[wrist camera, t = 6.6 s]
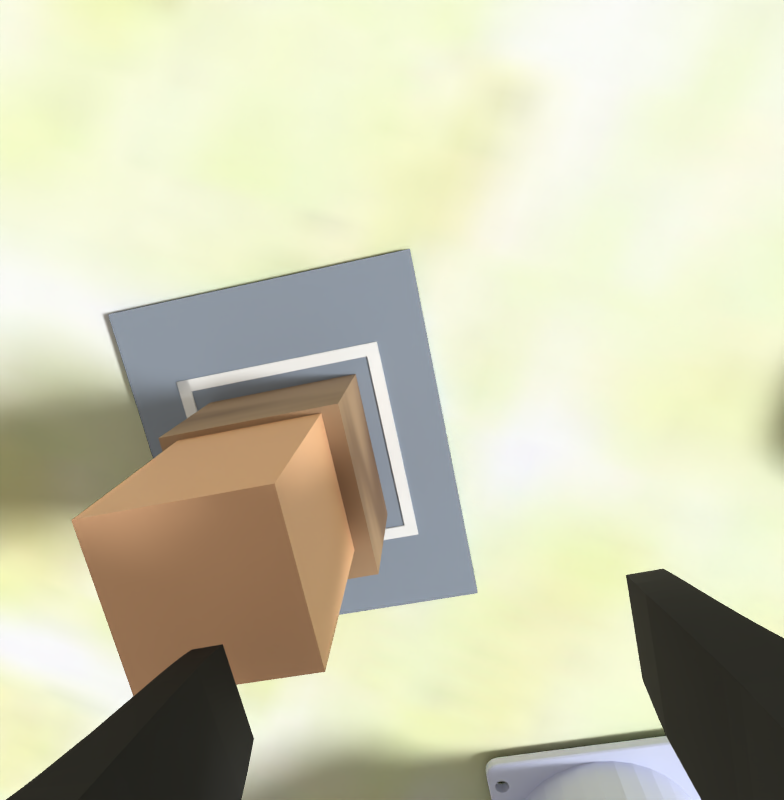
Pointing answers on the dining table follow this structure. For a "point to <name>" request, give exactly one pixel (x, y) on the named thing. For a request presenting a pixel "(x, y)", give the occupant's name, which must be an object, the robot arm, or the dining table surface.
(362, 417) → the walnut block
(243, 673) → the terracotta block
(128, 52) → the dining table surface
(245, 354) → the mat
